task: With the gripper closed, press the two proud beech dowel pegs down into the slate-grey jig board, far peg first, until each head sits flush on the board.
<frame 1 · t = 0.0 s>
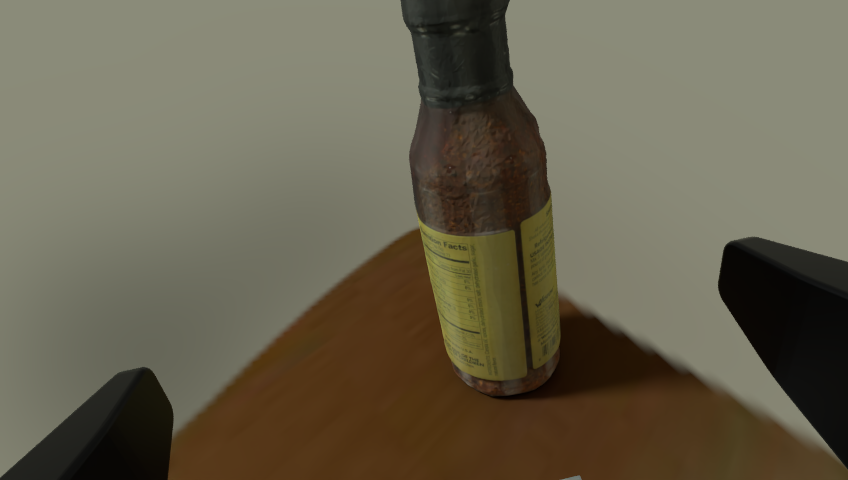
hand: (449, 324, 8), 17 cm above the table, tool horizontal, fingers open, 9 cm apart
sauce bottle: (501, 364, 31), on the table
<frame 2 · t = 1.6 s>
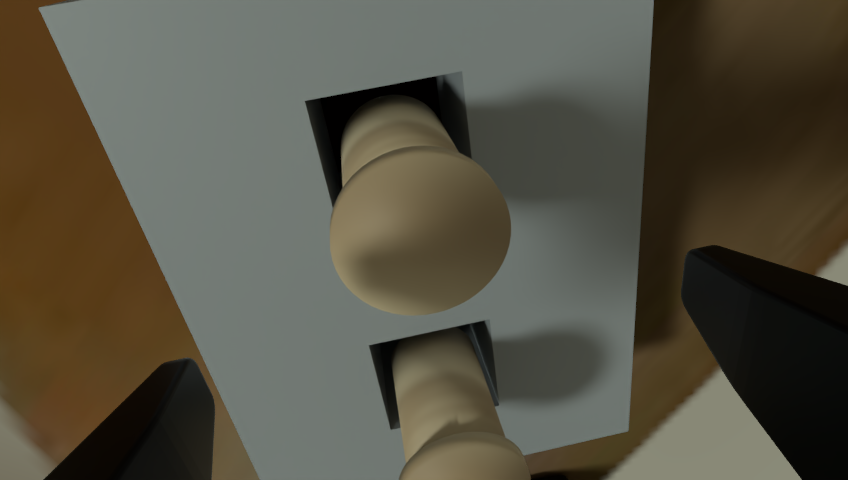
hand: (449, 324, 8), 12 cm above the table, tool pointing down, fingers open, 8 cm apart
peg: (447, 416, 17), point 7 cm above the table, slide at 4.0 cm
board: (401, 210, 21), on the table
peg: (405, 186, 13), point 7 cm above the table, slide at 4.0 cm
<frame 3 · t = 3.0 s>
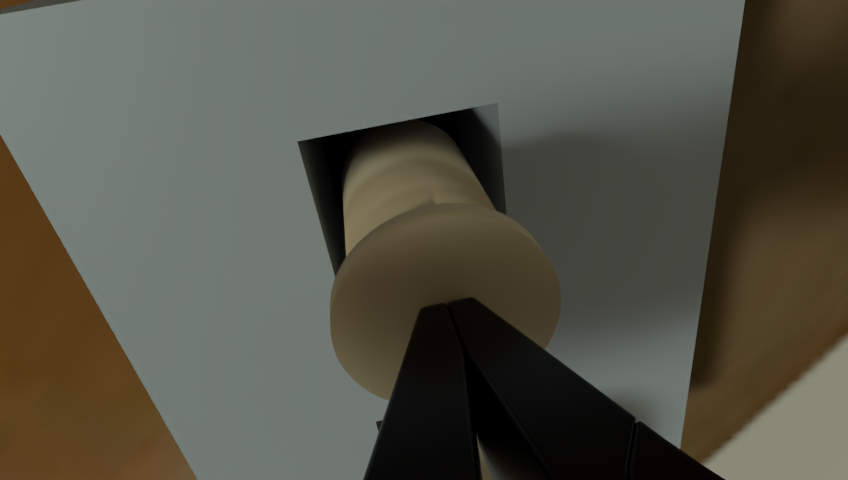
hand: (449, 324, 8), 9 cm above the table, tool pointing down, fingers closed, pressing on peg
board: (412, 249, 18), on the table
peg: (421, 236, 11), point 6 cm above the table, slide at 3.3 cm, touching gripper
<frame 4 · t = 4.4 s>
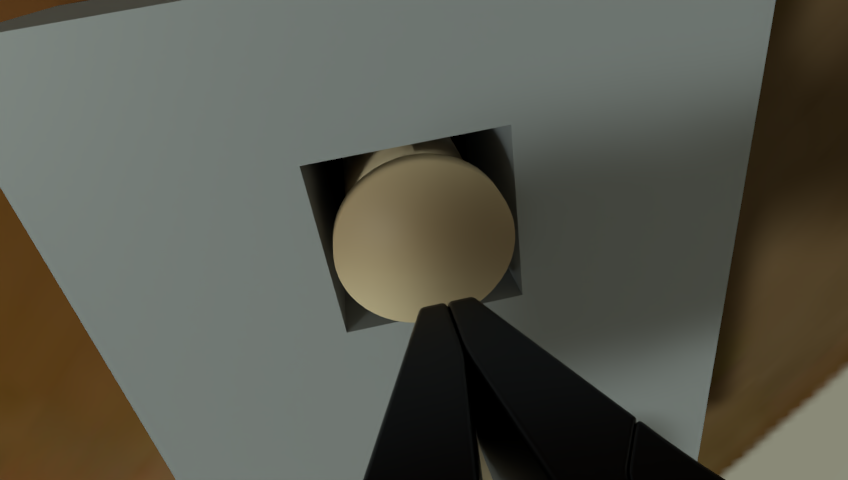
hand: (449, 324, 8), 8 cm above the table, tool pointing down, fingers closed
board: (417, 267, 17), on the table
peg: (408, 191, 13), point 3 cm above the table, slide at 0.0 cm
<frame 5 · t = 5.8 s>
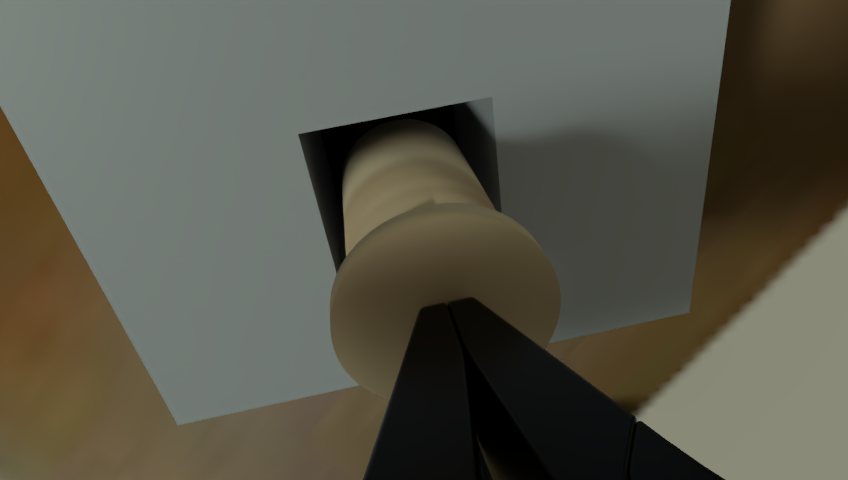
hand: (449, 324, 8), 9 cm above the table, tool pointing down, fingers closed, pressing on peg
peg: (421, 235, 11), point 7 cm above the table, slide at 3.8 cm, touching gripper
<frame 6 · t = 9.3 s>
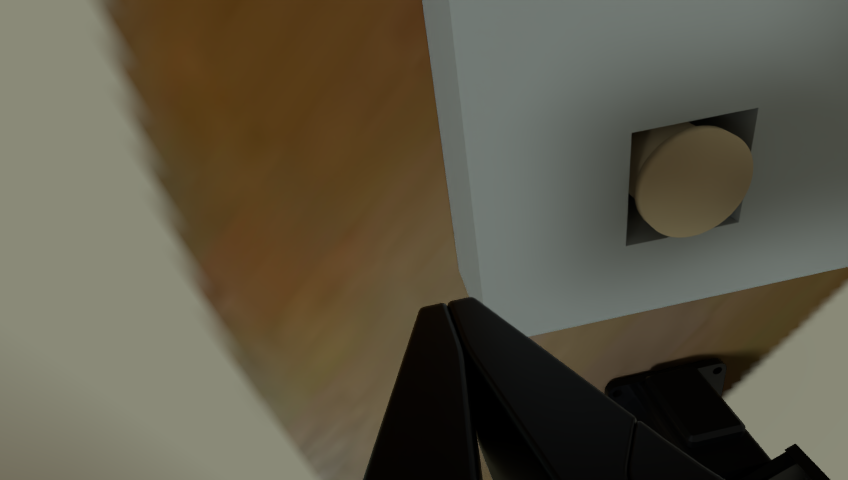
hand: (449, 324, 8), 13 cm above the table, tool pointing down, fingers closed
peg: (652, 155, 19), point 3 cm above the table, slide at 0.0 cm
board: (621, 24, 20), on the table
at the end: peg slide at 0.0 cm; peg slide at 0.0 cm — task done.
